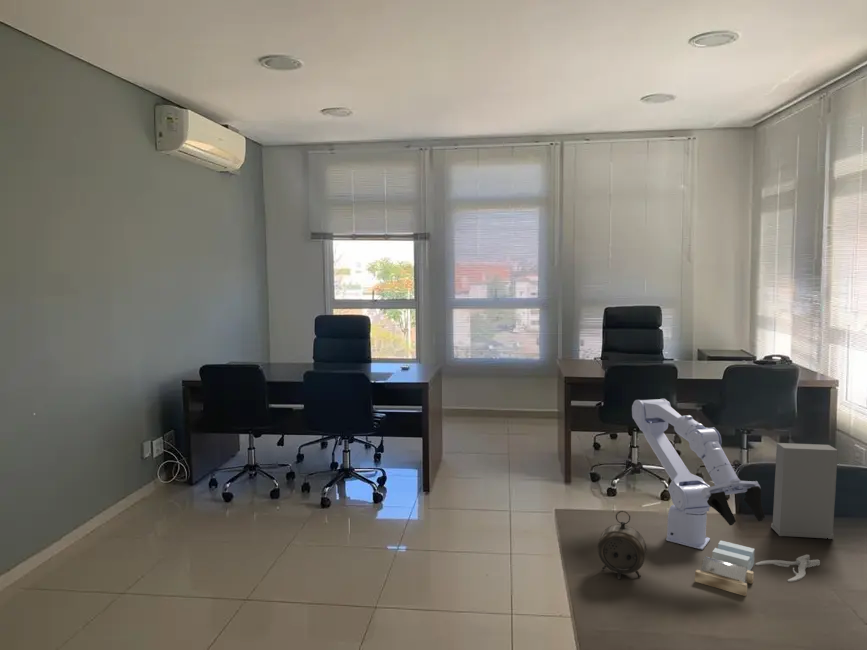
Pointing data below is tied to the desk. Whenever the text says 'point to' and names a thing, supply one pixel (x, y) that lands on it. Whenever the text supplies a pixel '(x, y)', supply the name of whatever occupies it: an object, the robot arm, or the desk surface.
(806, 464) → the tall grey box
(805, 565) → the pliers
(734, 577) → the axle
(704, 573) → the wooden rails
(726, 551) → the v block
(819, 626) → the desk surface
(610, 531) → the alarm clock
